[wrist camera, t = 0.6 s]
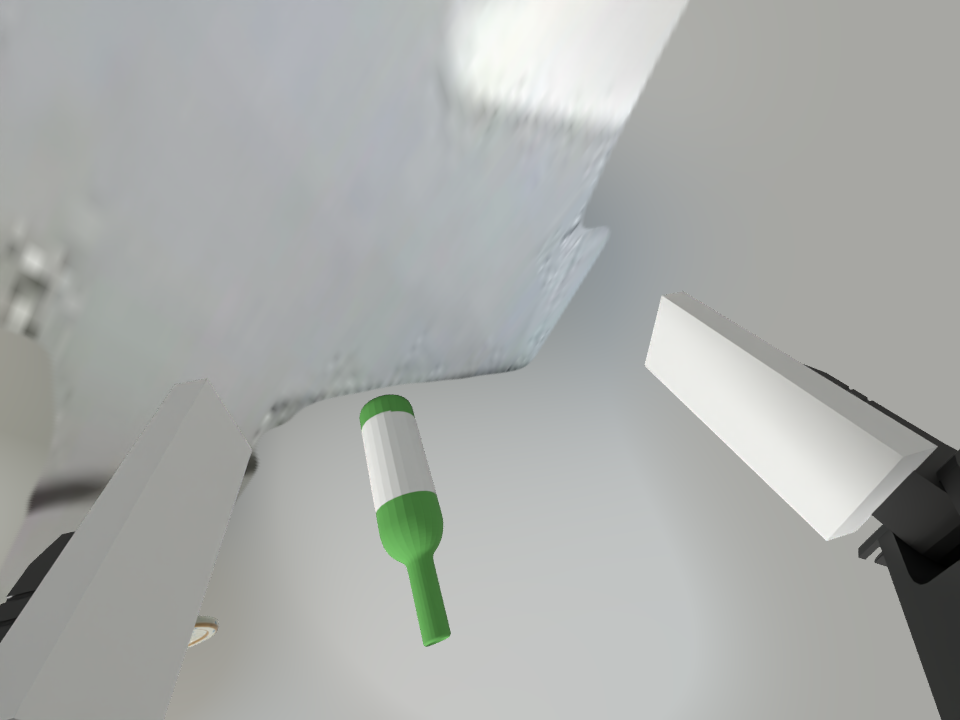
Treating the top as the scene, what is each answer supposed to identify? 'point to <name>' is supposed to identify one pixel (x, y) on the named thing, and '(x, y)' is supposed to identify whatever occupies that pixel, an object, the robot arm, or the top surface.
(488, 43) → the top surface
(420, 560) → the wine bottle
